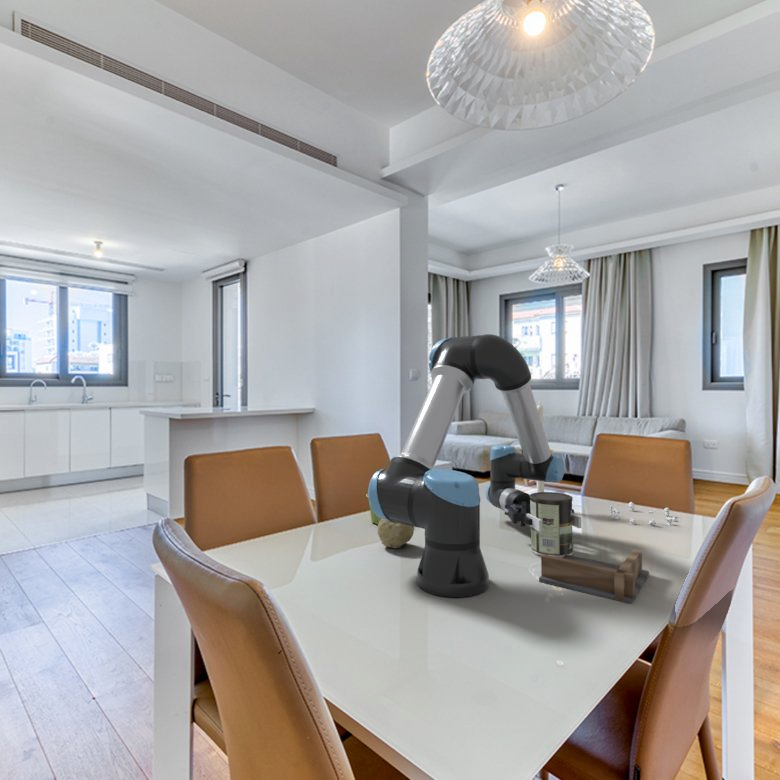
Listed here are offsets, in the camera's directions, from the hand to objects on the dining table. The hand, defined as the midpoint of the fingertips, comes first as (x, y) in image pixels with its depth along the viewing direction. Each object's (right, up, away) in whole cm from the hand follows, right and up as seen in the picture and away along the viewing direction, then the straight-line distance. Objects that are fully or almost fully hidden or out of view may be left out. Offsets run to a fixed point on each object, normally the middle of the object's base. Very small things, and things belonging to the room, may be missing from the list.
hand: (560, 524), depth 118 cm
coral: (-41, -9, +10) cm, 43 cm away
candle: (+10, -8, +48) cm, 49 cm away
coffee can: (-1, -8, +4) cm, 9 cm away
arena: (+3, -8, -13) cm, 15 cm away
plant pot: (-44, -9, +33) cm, 56 cm away
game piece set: (+38, -8, +35) cm, 52 cm away
